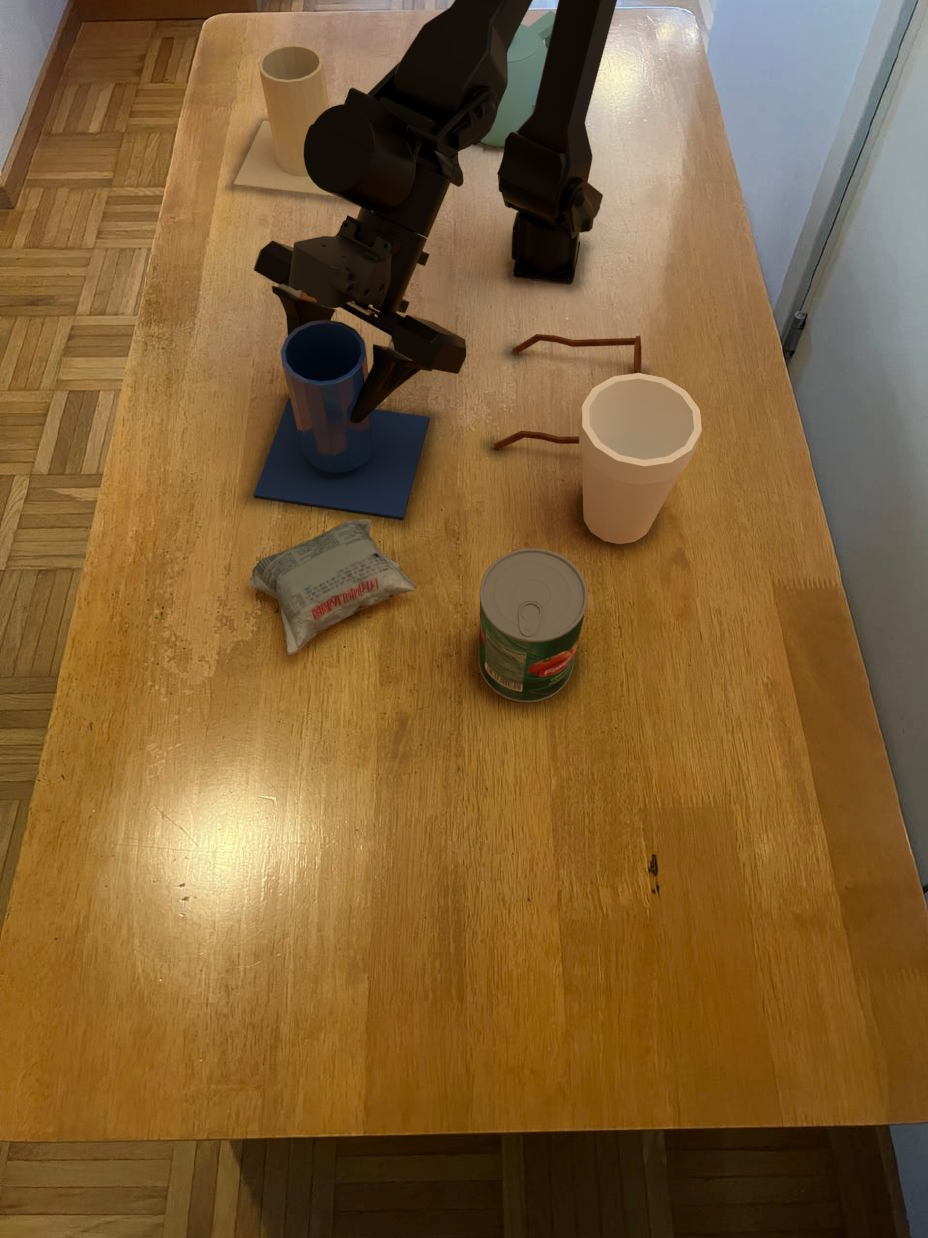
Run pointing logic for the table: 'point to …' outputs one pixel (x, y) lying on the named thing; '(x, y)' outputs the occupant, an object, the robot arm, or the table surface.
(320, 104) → the cream cup
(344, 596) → the packaged food
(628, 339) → the glasses
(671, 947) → the table surface
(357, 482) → the blue mat
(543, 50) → the teapot
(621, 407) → the foam cup
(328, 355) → the blue cup
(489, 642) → the canned tomato
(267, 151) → the cream mat
